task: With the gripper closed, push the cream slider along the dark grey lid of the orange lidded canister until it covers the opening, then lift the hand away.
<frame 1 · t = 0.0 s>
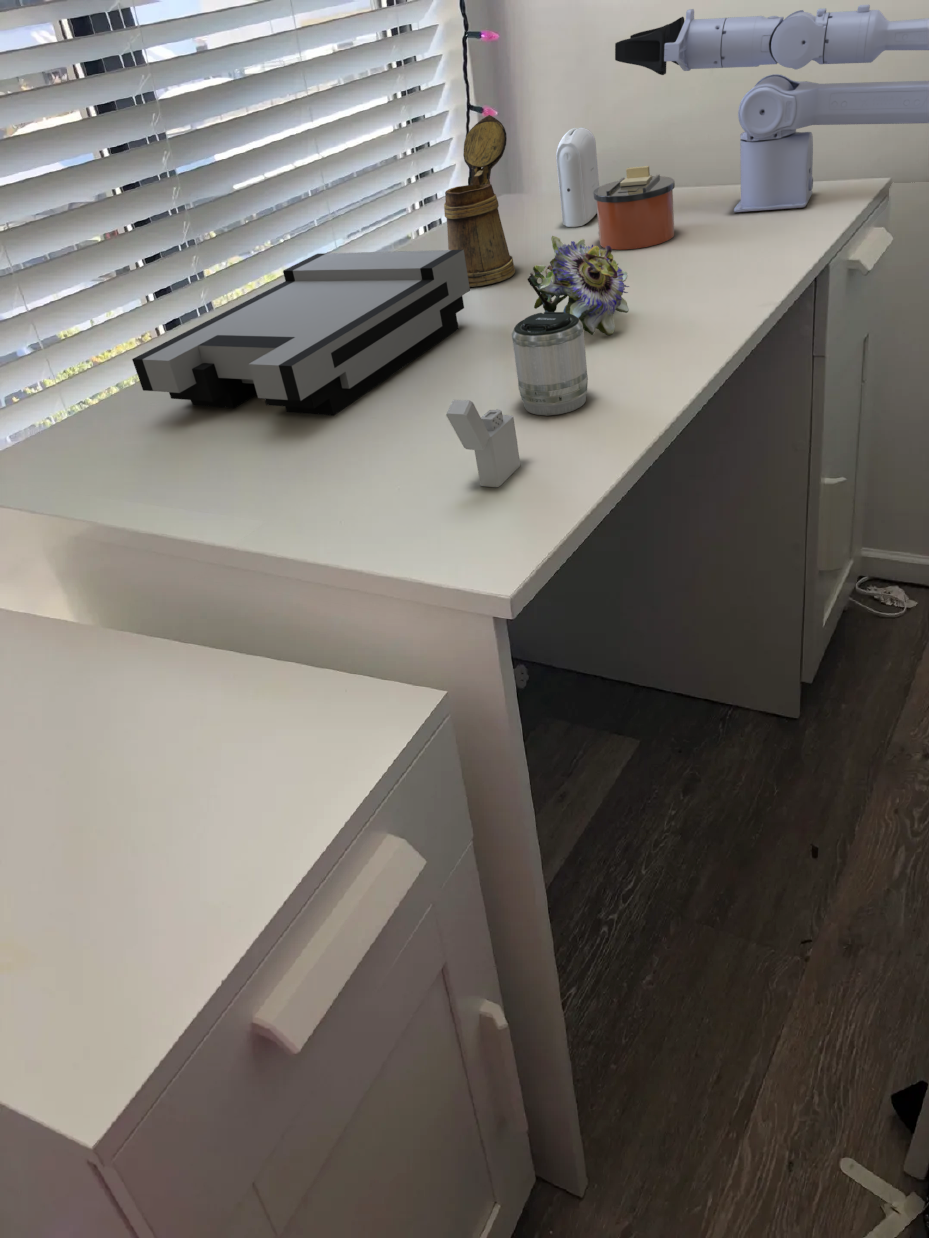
hand: (623, 47, 136), 22 cm above the table, tool horizontal, fingers open, 7 cm apart
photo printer: (582, 220, 151), on the table
slider: (635, 176, 133), point 8 cm above the table, slide at 0.0 cm
wooden mug: (489, 273, 134), on the table
camera lens: (555, 405, 92), on the table
game console: (323, 372, 110), on the table
orange lidded canister: (636, 239, 136), on the table
passion flower: (579, 331, 108), on the table
lighter: (492, 485, 80), on the table
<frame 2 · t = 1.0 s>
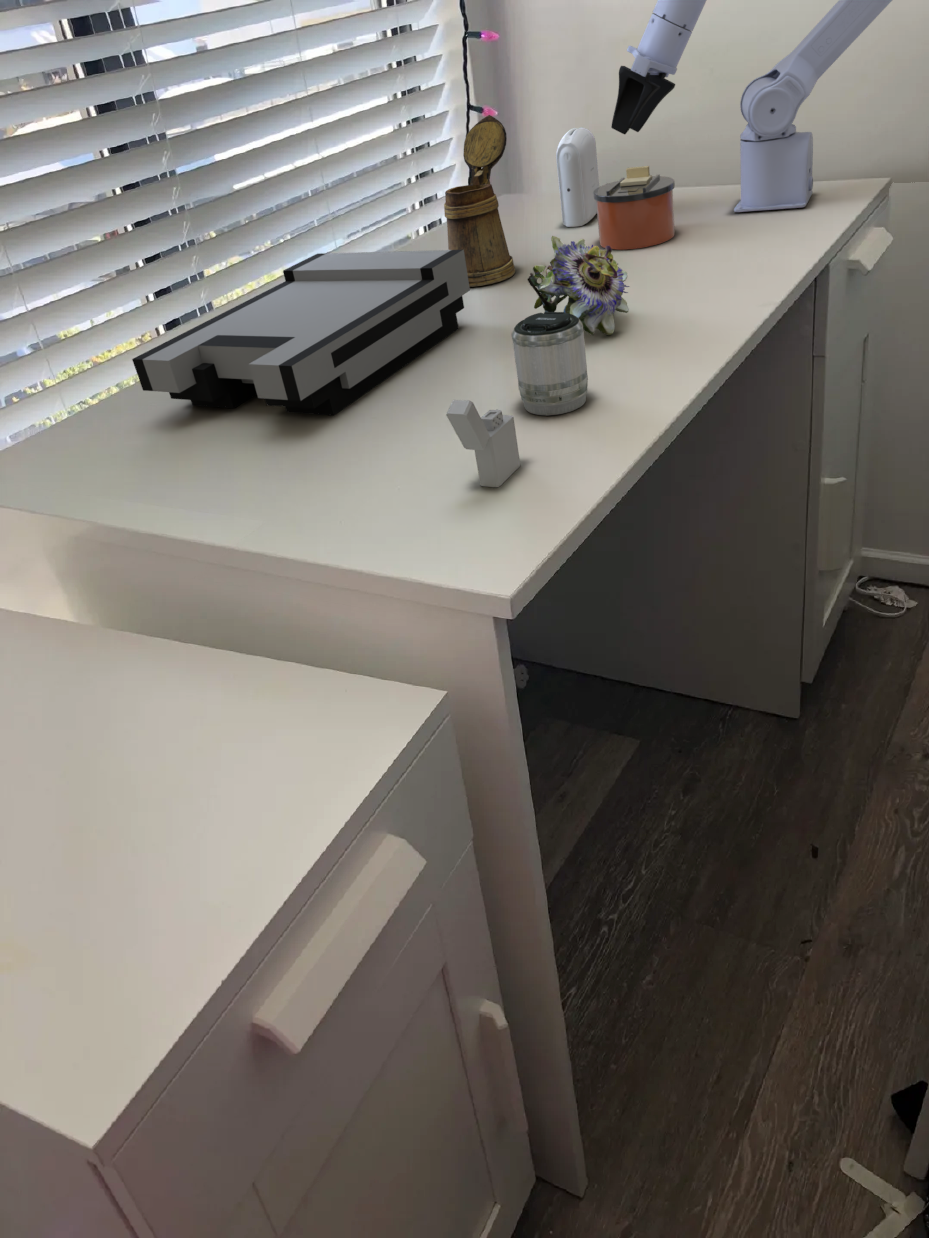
hand: (625, 130, 137), 12 cm above the table, tool tilted 30°, fingers open, 7 cm apart
nothing on the table moved.
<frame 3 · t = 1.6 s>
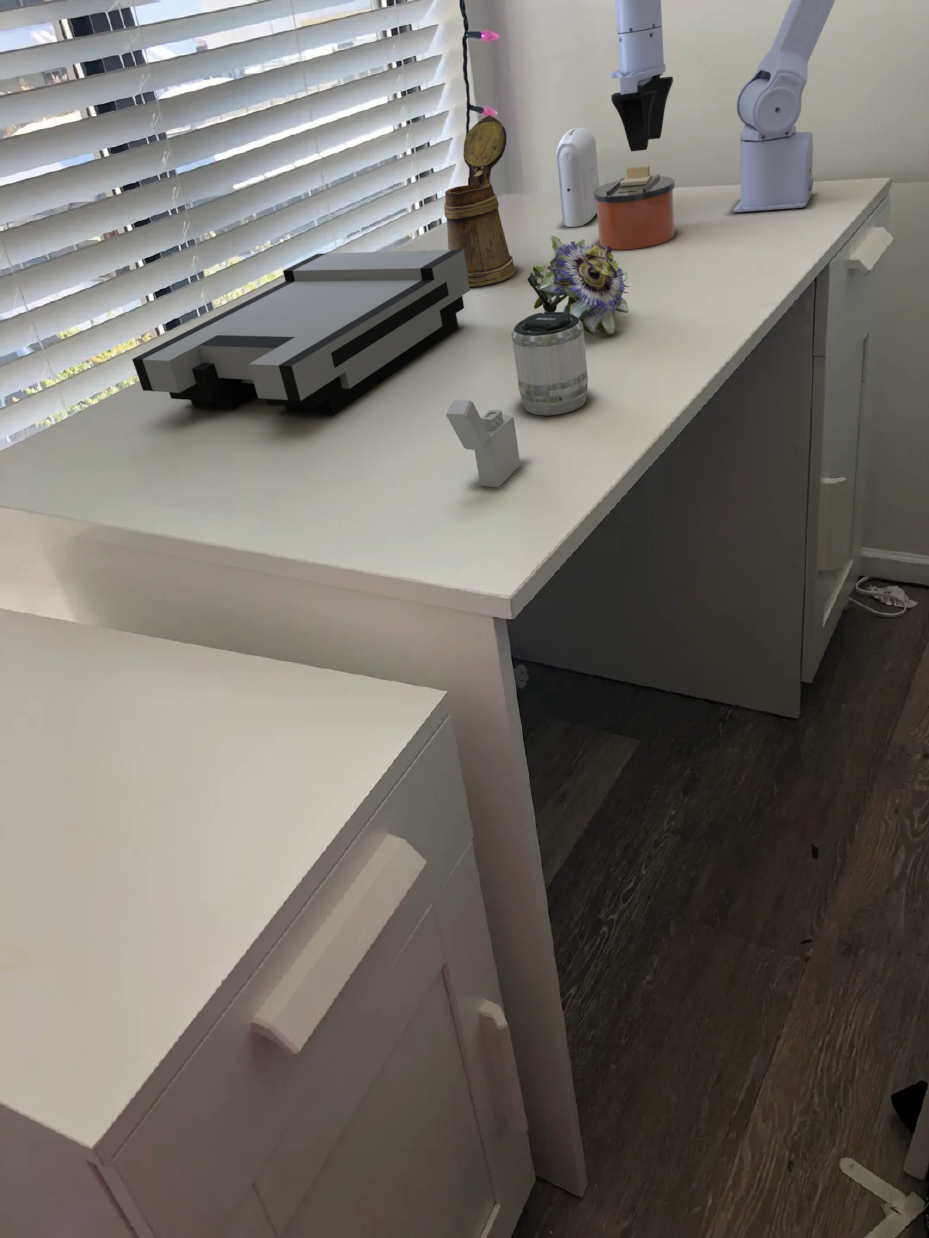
hand: (645, 144, 136), 10 cm above the table, tool pointing down, fingers open, 7 cm apart
nothing on the table moved.
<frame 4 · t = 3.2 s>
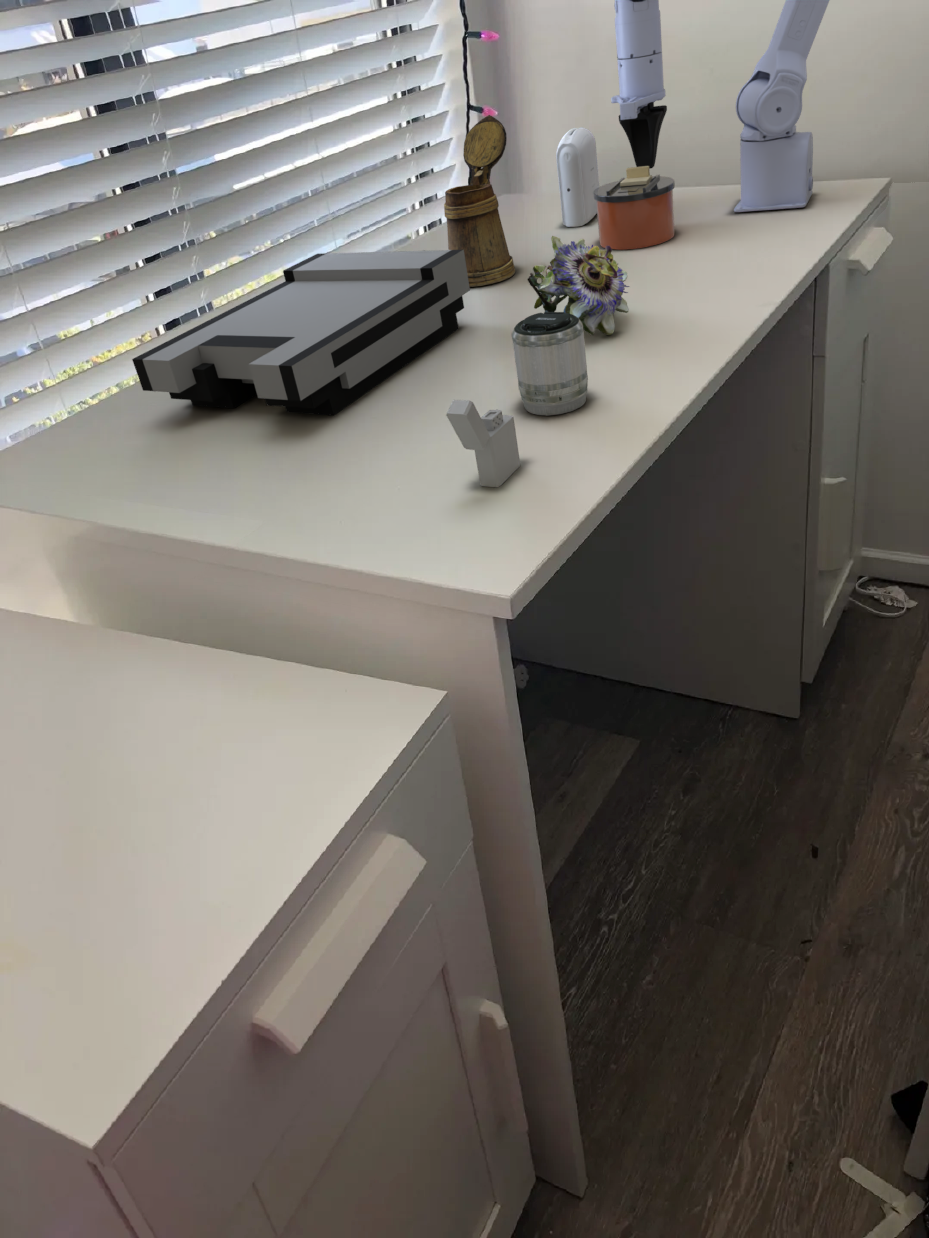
hand: (645, 168, 137), 8 cm above the table, tool pointing down, fingers closed
nothing on the table moved.
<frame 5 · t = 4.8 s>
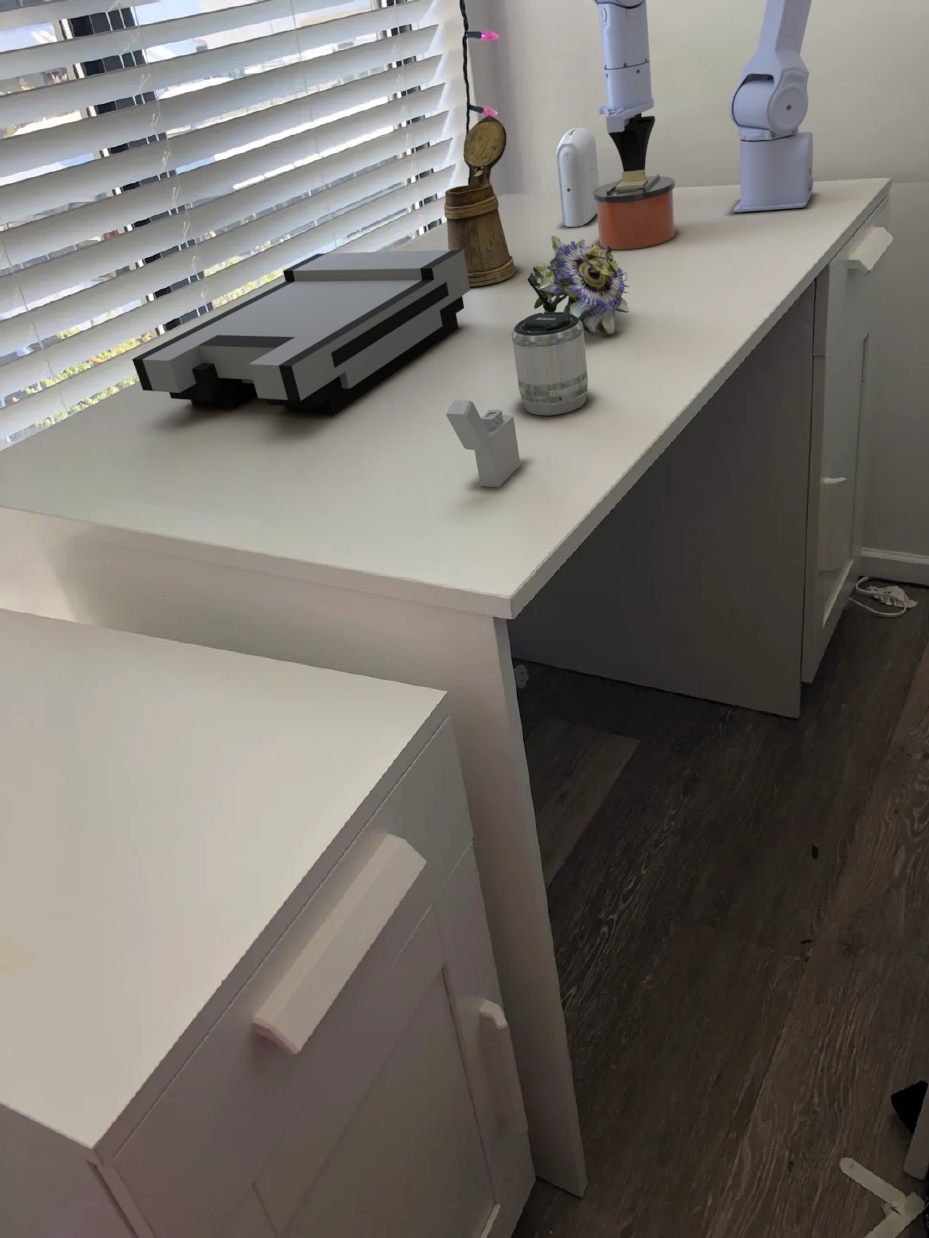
hand: (634, 180, 132), 7 cm above the table, tool pointing down, fingers closed, pressing on slider
slider: (631, 180, 131), point 8 cm above the table, slide at 2.2 cm, touching gripper, orange lidded canister
everything else where it was.
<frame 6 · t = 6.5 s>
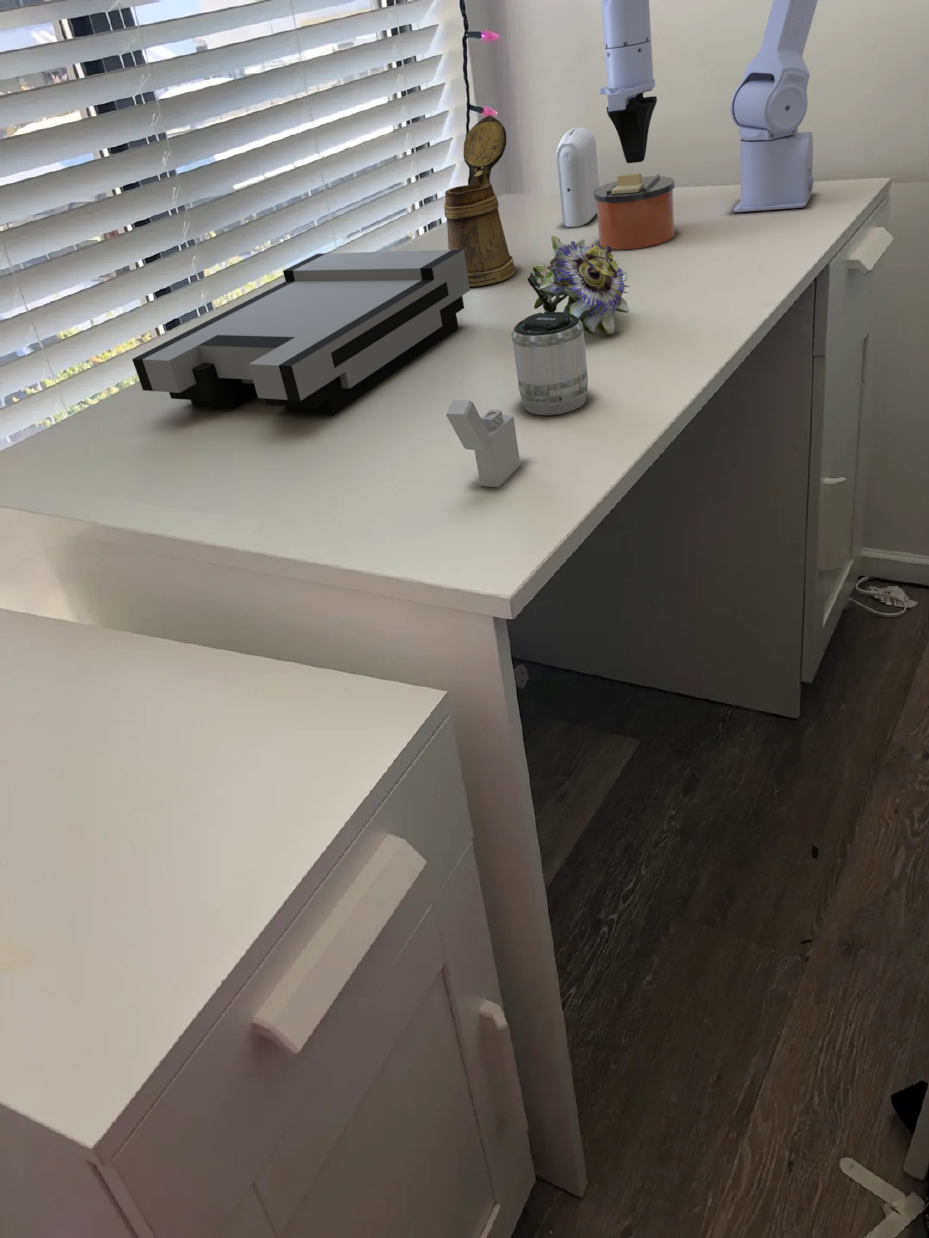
hand: (635, 161, 132), 9 cm above the table, tool pointing down, fingers closed
slider: (627, 183, 129), point 8 cm above the table, slide at 4.3 cm, touching orange lidded canister
everything else where it was.
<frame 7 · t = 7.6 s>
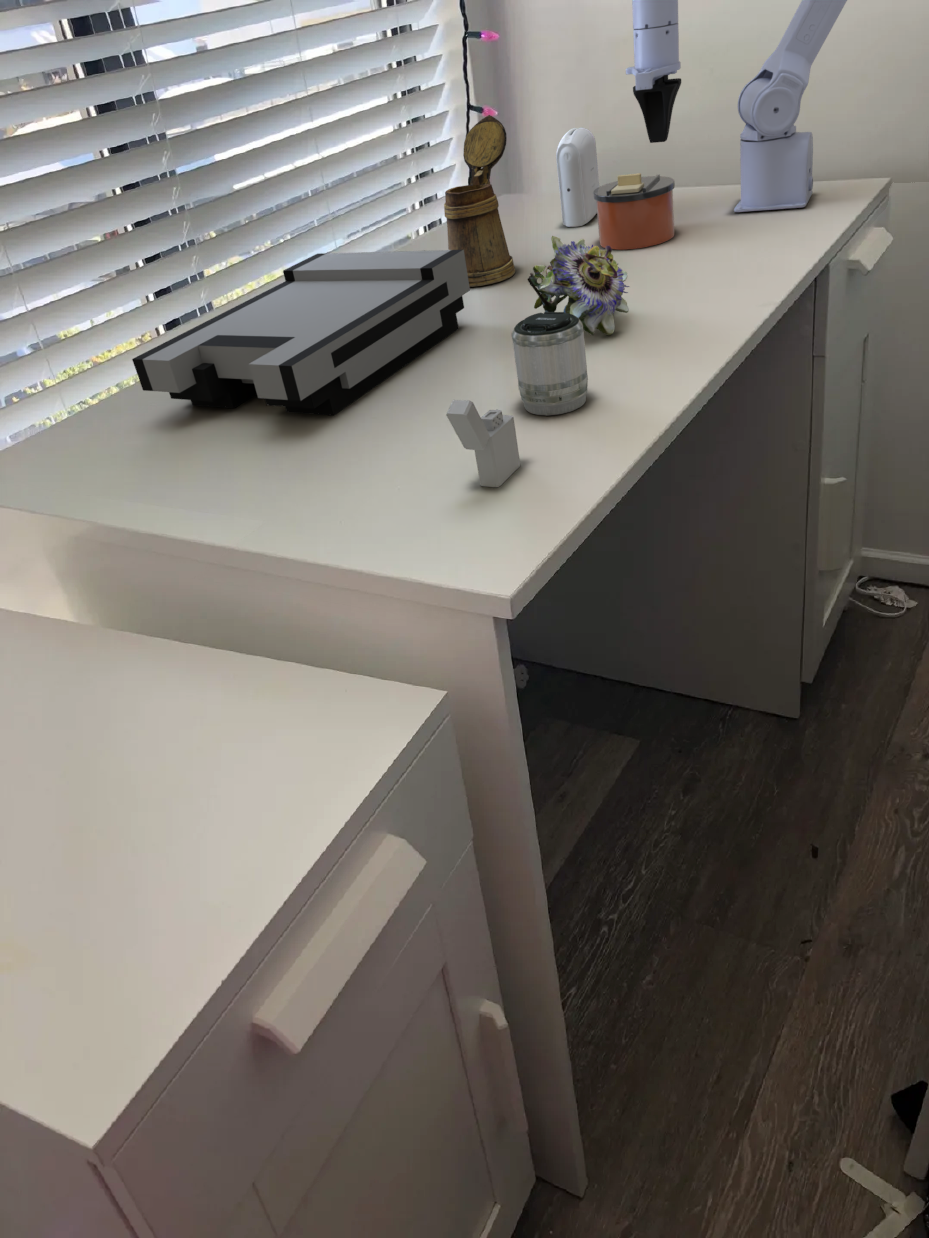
hand: (658, 141, 136), 10 cm above the table, tool pointing down, fingers closed
nothing on the table moved.
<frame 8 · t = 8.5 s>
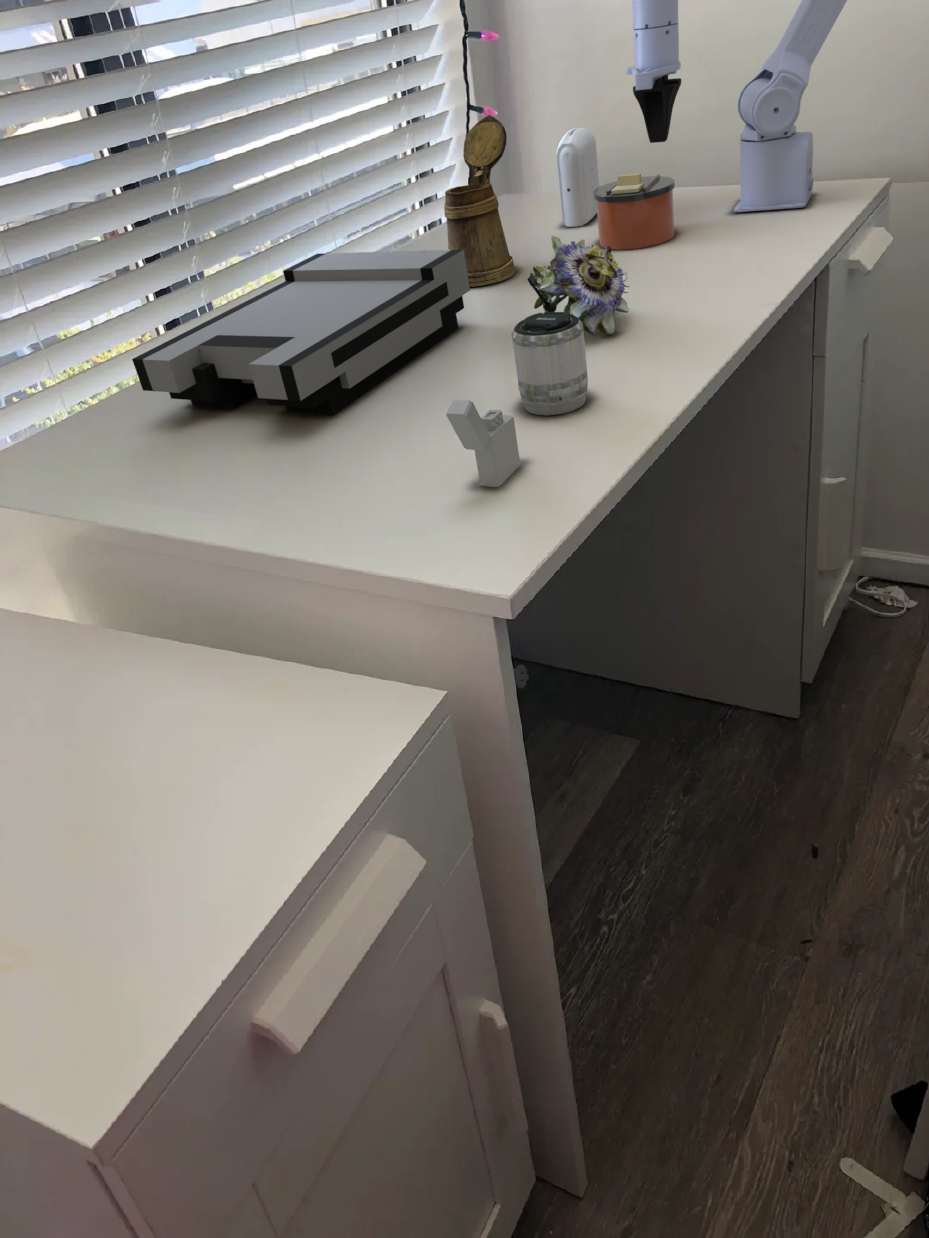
hand: (658, 141, 136), 10 cm above the table, tool pointing down, fingers closed
nothing on the table moved.
at the end: slider slide at 4.3 cm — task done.
